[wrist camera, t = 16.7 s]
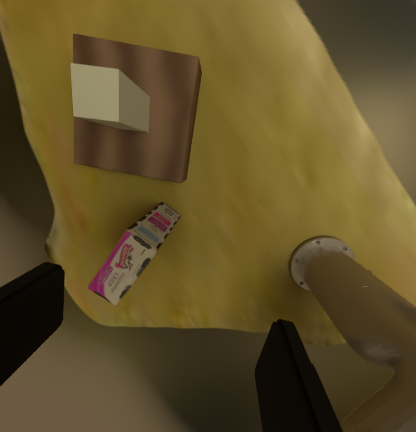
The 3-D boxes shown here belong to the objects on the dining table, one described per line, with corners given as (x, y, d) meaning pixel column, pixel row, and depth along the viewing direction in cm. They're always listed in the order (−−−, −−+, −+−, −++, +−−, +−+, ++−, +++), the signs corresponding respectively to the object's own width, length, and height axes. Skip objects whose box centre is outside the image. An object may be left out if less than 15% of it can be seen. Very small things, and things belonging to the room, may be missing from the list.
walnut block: (201, 73, 34) (198, 56, 29) (186, 179, 40) (181, 183, 34) (97, 54, 34) (72, 33, 29) (95, 162, 39) (74, 163, 34)
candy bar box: (161, 200, 40) (125, 227, 25) (181, 215, 41) (159, 251, 25) (132, 240, 43) (84, 289, 28) (152, 254, 44) (115, 308, 28)
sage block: (149, 96, 30) (118, 69, 21) (148, 132, 32) (118, 122, 22) (116, 92, 30) (70, 63, 21) (116, 128, 32) (73, 116, 22)
